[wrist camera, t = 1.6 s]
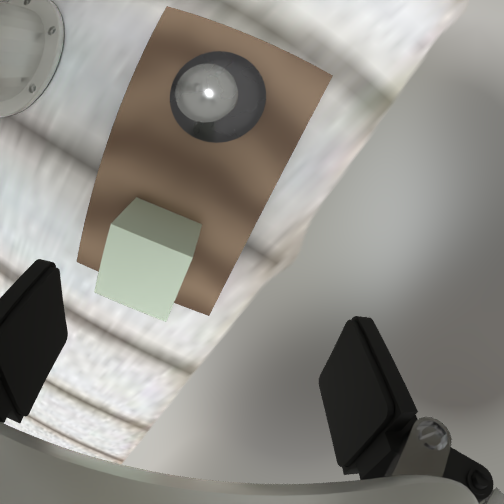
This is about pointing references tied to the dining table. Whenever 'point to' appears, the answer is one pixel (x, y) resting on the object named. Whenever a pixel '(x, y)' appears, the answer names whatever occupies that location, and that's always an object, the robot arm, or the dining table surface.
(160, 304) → the pale green cube
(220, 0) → the dining table surface
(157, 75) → the board
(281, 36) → the dining table surface
